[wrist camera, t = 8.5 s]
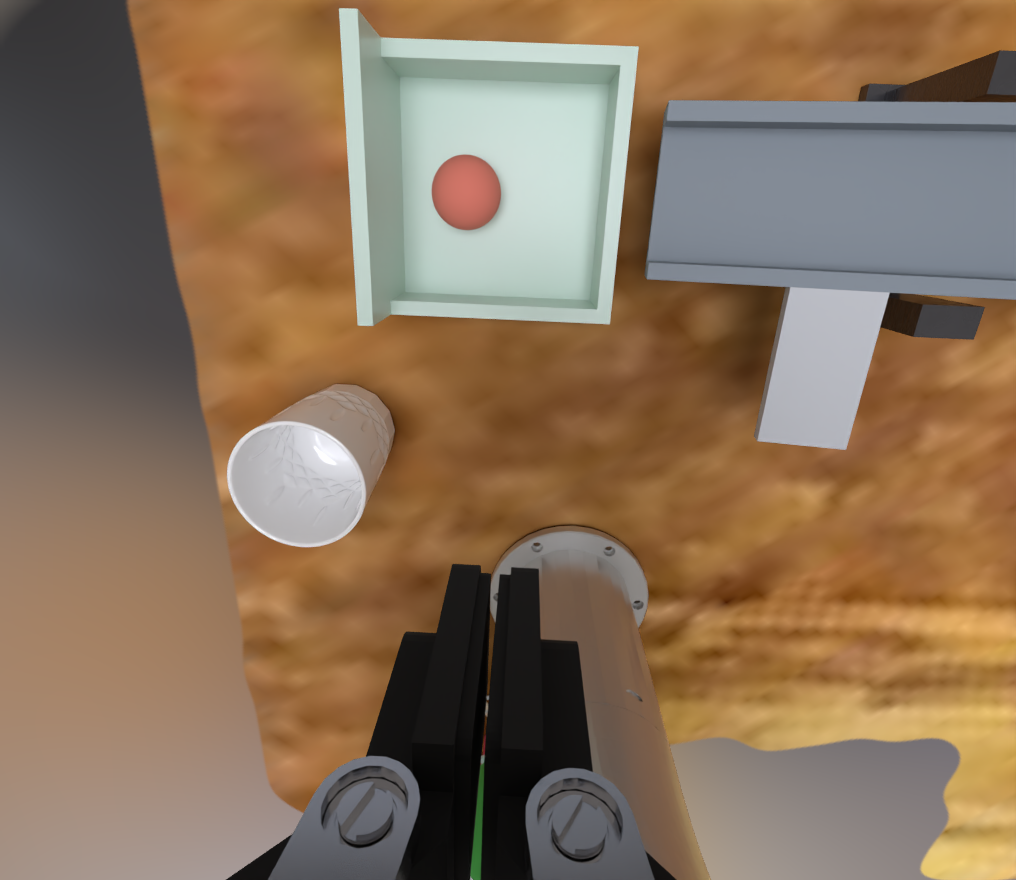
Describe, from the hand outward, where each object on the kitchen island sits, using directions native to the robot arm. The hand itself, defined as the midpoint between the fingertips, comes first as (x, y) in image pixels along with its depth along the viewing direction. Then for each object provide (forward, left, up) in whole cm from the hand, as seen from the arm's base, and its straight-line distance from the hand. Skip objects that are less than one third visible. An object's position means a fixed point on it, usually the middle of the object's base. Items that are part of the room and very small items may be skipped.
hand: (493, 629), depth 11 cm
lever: (-7, -21, -23) cm, 32 cm away
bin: (+8, -3, -29) cm, 30 cm away
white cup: (0, +14, -29) cm, 32 cm away
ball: (+9, -1, -26) cm, 28 cm away
